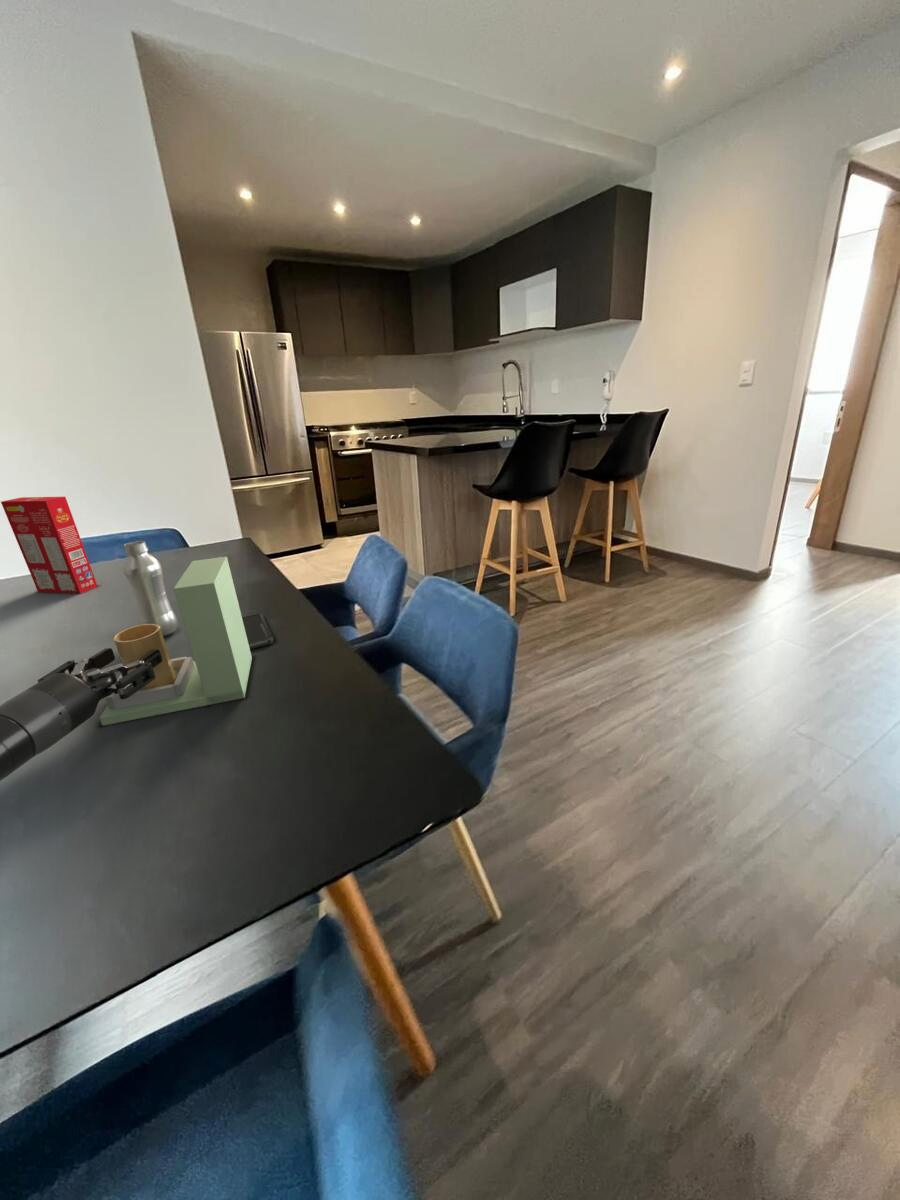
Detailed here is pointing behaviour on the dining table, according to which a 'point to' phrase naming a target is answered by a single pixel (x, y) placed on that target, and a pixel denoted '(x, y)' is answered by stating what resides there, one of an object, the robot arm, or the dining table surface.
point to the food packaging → (50, 544)
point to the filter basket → (146, 651)
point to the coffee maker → (198, 649)
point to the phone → (257, 631)
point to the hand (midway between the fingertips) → (135, 653)
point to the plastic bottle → (149, 587)
